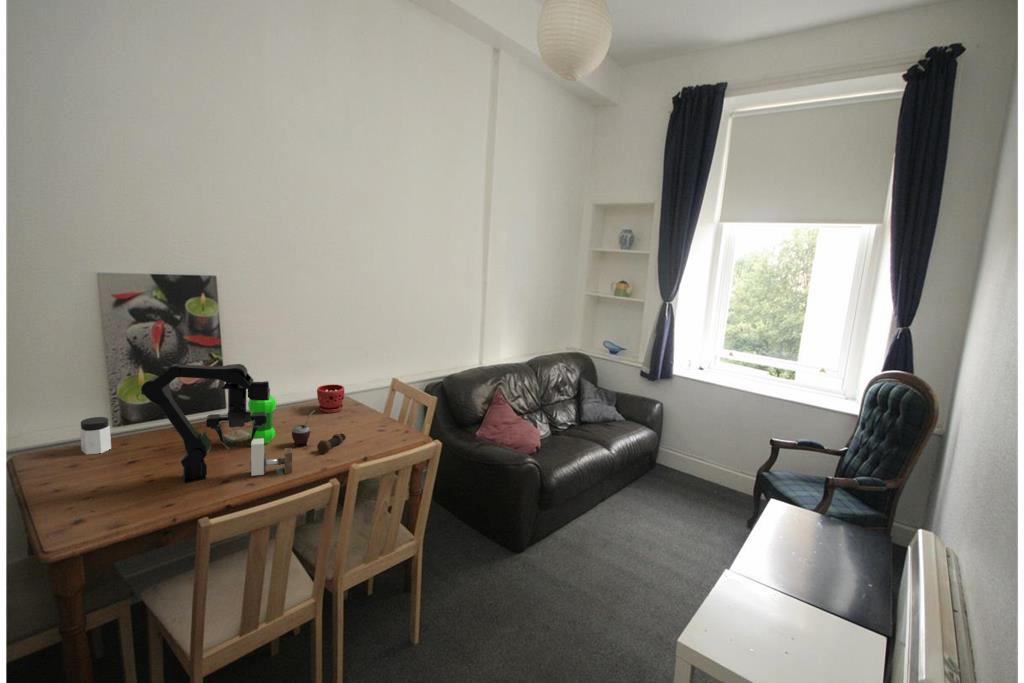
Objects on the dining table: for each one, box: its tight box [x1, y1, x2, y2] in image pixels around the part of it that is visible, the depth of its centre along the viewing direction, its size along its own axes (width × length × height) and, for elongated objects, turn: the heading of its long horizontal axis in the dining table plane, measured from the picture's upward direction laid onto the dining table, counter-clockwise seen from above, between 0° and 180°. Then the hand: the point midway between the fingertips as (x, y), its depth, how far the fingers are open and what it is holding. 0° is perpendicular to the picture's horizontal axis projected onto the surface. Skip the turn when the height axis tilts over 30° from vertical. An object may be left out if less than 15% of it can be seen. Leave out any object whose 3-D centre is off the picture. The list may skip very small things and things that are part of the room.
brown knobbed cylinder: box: [316, 433, 347, 454], centre depth 217 cm, size 6×5×15 cm
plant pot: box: [316, 384, 345, 413], centre depth 260 cm, size 13×13×12 cm
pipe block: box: [276, 447, 293, 475], centre depth 191 cm, size 5×5×8 cm
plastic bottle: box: [247, 394, 277, 445], centre depth 213 cm, size 10×10×25 cm
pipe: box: [249, 457, 285, 468], centre depth 189 cm, size 12×3×3 cm, turn 115°
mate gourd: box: [291, 409, 316, 448], centre depth 215 cm, size 8×8×15 cm
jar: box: [79, 416, 112, 456], centre depth 194 cm, size 9×8×12 cm
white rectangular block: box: [250, 438, 267, 477], centre depth 187 cm, size 5×5×12 cm
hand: (237, 441), depth 184 cm, fingers open, 9 cm apart
